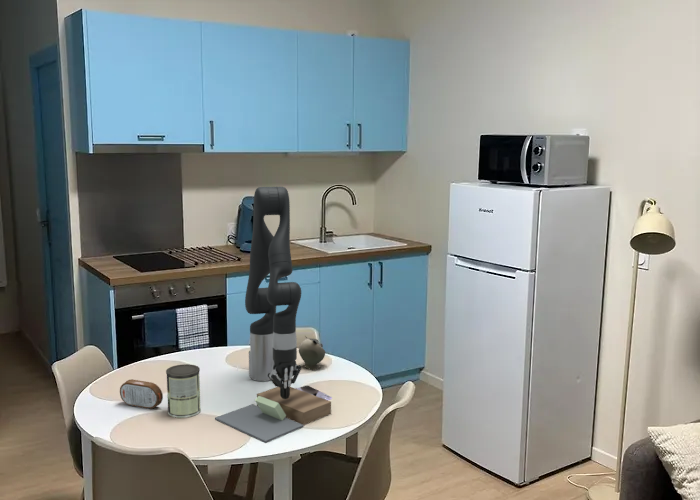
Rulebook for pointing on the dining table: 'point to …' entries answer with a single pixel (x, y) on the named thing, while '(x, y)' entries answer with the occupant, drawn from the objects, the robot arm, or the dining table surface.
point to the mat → (258, 423)
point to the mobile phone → (314, 392)
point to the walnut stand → (299, 405)
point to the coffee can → (183, 390)
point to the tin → (141, 394)
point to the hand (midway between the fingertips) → (285, 398)
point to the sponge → (270, 407)
